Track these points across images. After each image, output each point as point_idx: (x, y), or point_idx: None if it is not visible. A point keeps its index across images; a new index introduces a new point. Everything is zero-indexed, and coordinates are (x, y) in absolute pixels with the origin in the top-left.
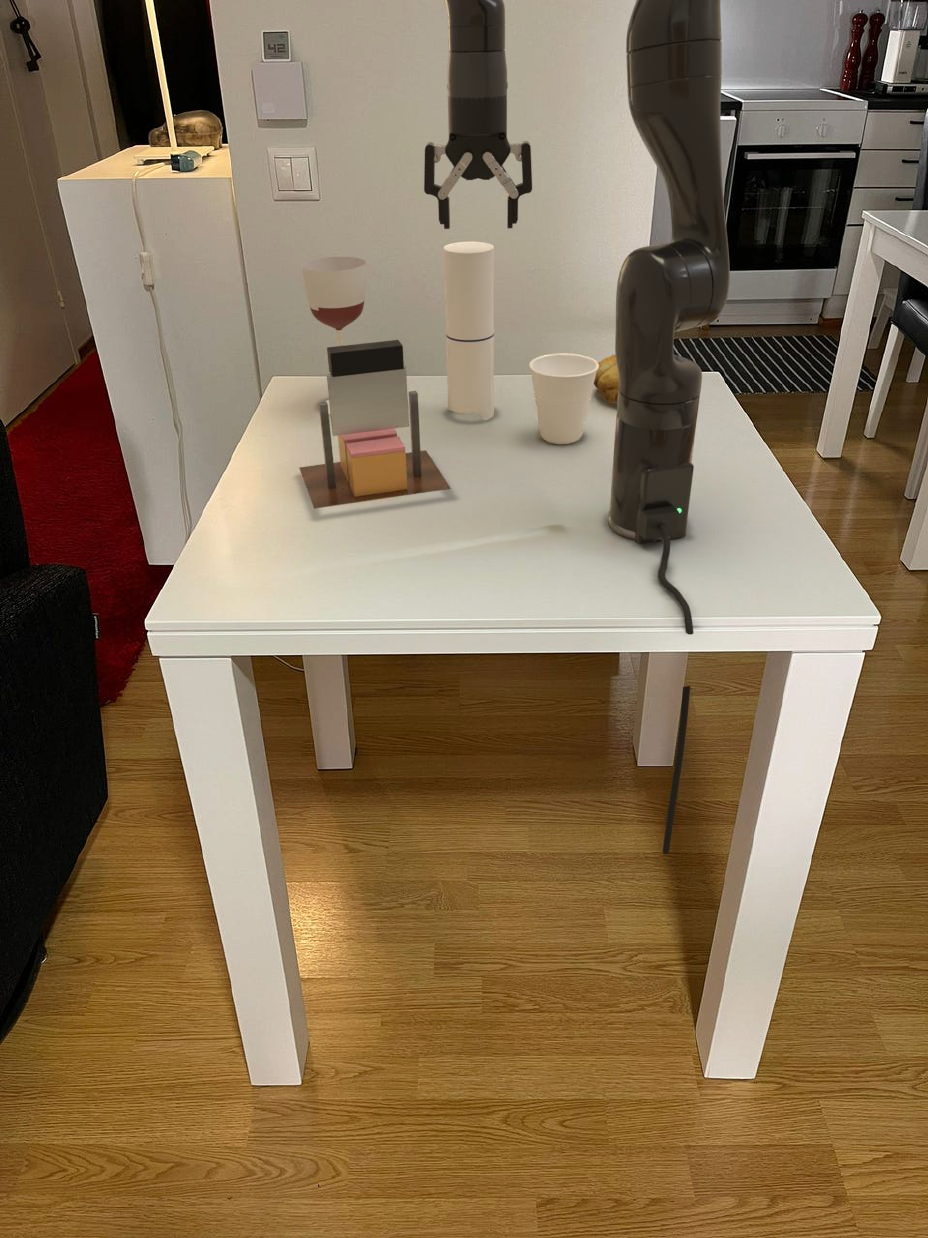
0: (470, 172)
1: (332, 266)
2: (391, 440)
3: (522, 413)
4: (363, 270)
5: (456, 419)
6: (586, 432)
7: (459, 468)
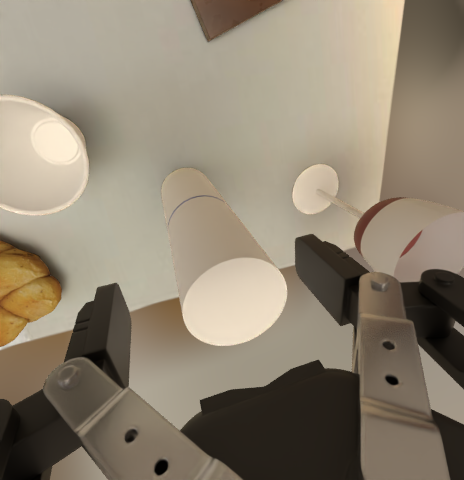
0: (317, 396)
1: None
2: None
3: (129, 206)
4: (391, 256)
5: None
6: None
7: (160, 15)
